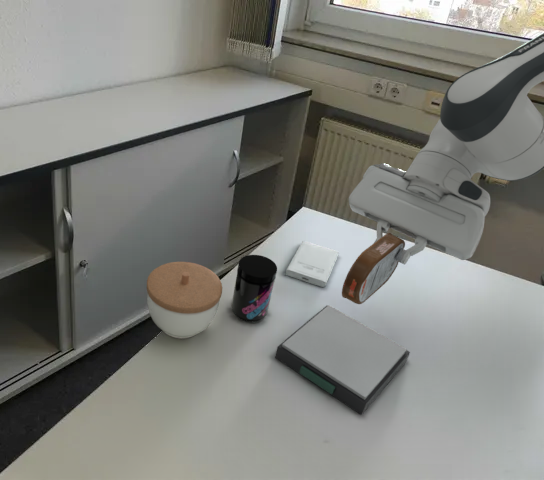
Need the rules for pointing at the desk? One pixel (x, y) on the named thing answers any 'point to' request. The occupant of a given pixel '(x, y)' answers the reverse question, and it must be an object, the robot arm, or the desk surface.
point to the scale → (343, 357)
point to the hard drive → (312, 263)
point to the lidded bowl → (183, 298)
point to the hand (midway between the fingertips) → (388, 256)
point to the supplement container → (253, 287)
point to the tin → (372, 269)
